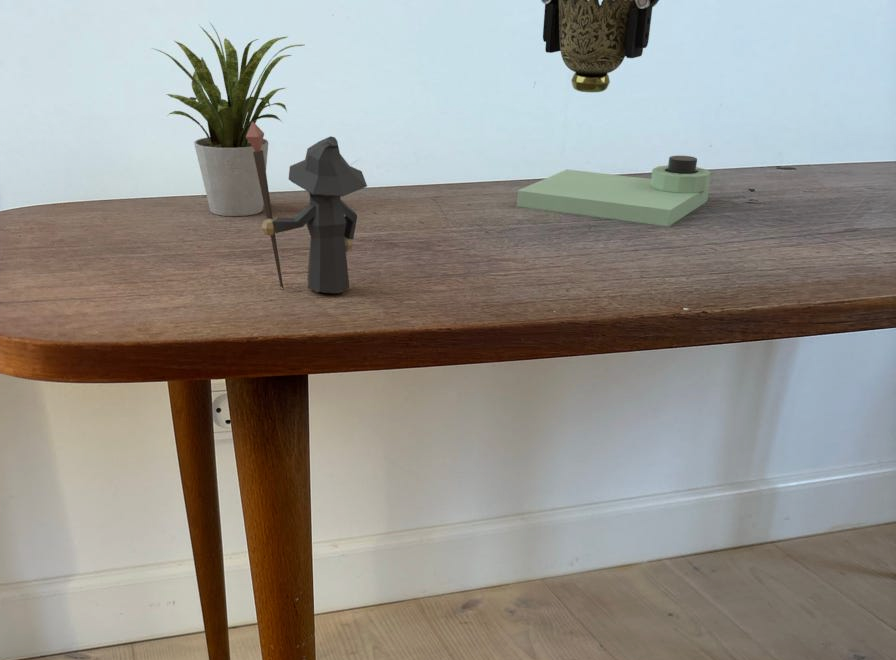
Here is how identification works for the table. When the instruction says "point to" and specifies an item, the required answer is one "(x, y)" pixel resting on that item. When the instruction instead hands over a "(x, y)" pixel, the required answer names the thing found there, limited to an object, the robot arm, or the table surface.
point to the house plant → (229, 127)
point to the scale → (620, 195)
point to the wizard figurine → (317, 210)
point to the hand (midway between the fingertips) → (593, 52)
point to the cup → (593, 40)
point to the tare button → (682, 164)
